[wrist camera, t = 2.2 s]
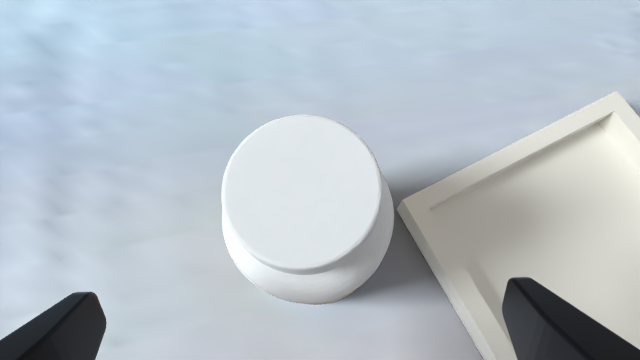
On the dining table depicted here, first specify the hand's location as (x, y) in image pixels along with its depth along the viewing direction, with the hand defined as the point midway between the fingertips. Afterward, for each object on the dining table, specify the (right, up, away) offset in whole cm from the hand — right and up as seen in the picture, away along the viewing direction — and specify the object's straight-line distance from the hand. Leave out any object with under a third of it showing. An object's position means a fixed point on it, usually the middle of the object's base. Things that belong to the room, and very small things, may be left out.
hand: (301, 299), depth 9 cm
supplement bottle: (0, -1, +10) cm, 10 cm away
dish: (+12, -1, +10) cm, 15 cm away
